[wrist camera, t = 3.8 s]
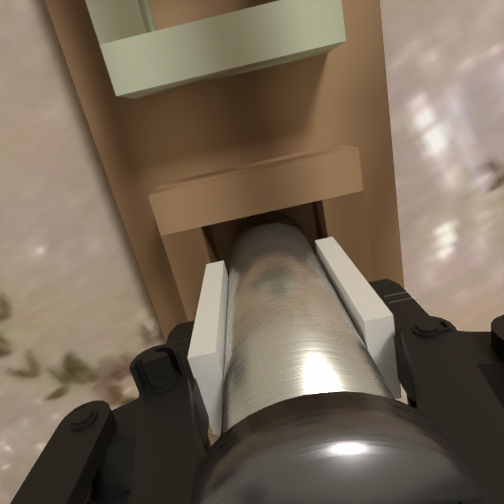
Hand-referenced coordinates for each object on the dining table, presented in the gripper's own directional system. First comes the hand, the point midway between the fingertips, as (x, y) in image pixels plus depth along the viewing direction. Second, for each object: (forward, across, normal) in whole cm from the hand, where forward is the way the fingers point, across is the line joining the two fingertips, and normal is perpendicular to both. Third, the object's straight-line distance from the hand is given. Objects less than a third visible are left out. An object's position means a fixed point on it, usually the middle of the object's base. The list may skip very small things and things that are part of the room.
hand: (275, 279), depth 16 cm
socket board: (+6, 0, +7) cm, 9 cm away
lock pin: (+4, 0, 0) cm, 4 cm away
